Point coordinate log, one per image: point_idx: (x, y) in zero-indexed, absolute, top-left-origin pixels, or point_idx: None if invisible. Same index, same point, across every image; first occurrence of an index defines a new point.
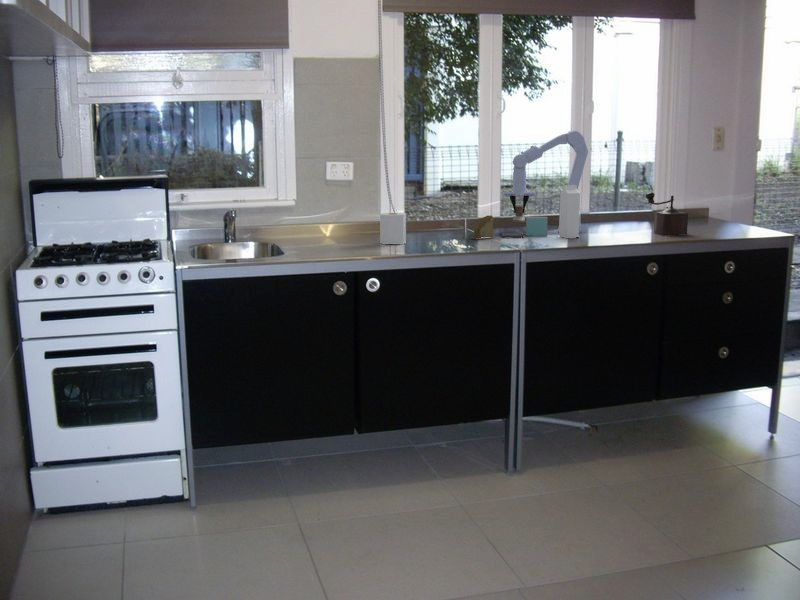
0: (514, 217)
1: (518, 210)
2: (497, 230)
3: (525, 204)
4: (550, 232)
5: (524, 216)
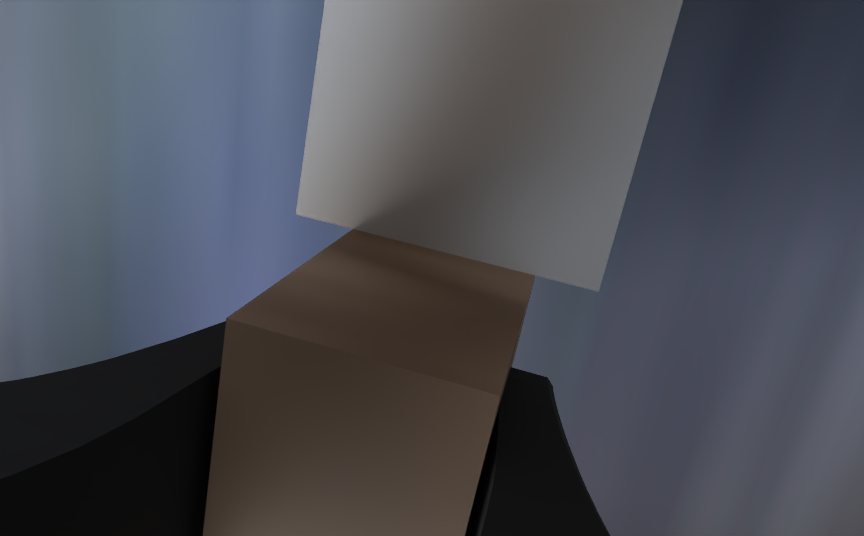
0: (615, 86)
1: (421, 311)
2: (834, 427)
3: (61, 374)
4: (21, 18)
5: (308, 167)
